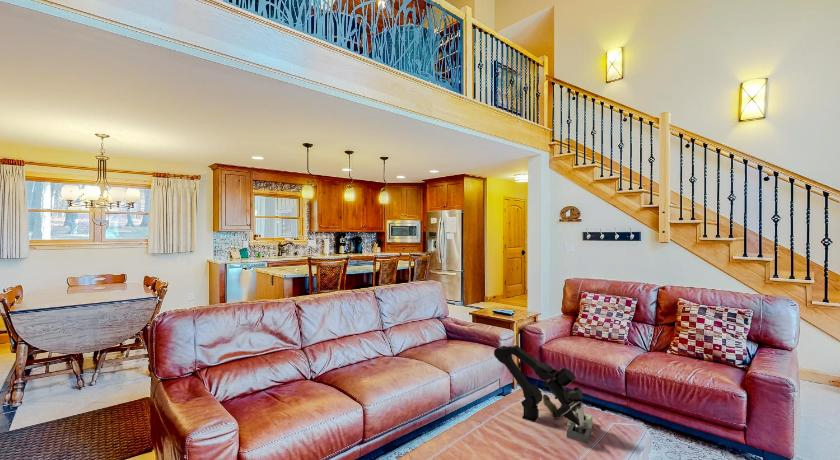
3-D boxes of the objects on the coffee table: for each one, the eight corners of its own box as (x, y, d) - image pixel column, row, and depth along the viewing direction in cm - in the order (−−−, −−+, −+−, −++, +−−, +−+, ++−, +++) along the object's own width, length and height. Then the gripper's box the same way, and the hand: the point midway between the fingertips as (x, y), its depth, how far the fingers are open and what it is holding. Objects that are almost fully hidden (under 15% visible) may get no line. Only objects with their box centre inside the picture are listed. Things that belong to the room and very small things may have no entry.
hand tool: (561, 418, 193) (561, 409, 193) (553, 418, 193) (553, 409, 193) (548, 401, 212) (548, 393, 212) (541, 401, 212) (541, 392, 212)
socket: (566, 437, 175) (566, 430, 175) (571, 429, 182) (571, 422, 182) (587, 444, 169) (587, 437, 169) (591, 435, 177) (591, 428, 177)
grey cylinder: (574, 436, 175) (574, 408, 175) (576, 433, 178) (576, 405, 178) (582, 439, 173) (582, 410, 173) (584, 435, 176) (584, 407, 176)
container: (566, 426, 185) (566, 417, 185) (571, 417, 193) (571, 409, 193) (589, 432, 179) (589, 424, 179) (593, 423, 187) (593, 415, 187)
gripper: (562, 388, 172) (587, 421, 164) (579, 377, 185) (603, 407, 177) (545, 400, 177) (569, 433, 170) (563, 388, 191) (585, 418, 183)
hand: (582, 422), depth 175 cm, fingers open, 6 cm apart
